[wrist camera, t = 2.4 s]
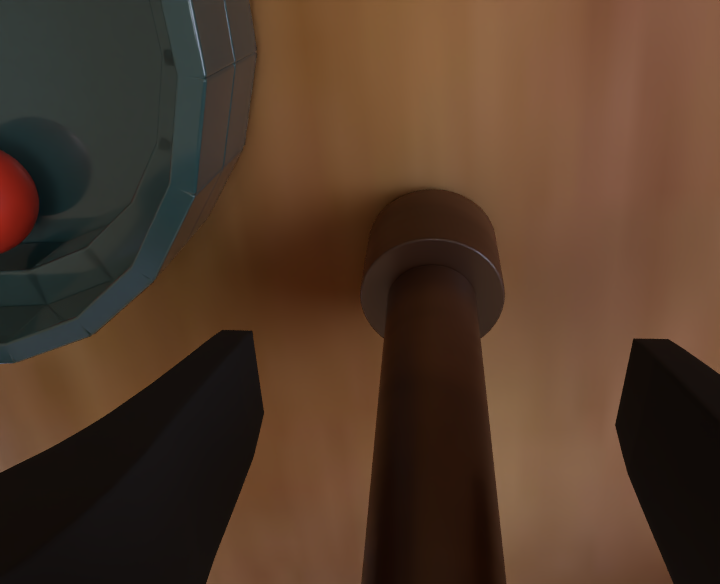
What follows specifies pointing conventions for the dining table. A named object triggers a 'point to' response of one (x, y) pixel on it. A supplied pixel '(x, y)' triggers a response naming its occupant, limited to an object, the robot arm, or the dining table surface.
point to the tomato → (16, 202)
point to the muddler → (432, 393)
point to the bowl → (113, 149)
